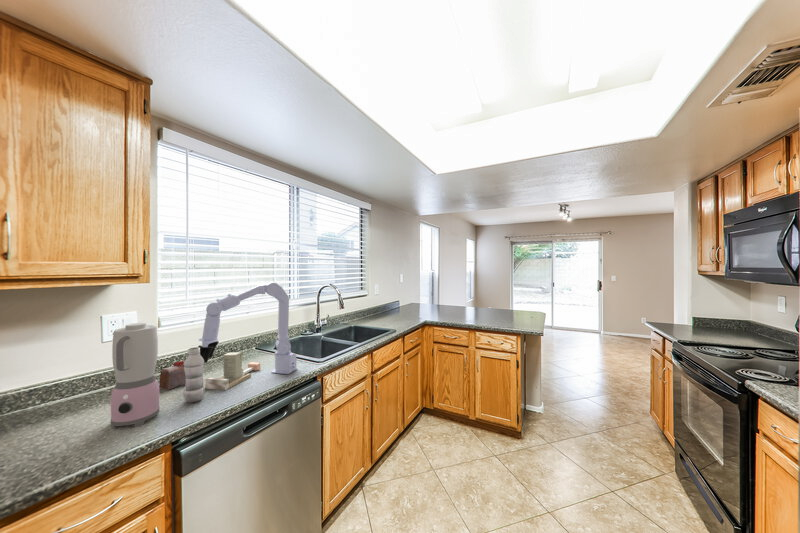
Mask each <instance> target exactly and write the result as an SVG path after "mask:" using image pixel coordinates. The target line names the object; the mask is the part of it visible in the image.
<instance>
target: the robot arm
mask: <svg viewBox="0 0 800 533" xmlns="http://www.w3.org/2000/svg"><path fill="white" fill-rule="evenodd" d="M266 294H267V295H268V296H271V297H273V298H275V299H276V300H277V301H278V311H277V312H278V313H277V315H278V316H277V320H278V322H277V336H276V337H277V339H276V340H275V343H274V346H275V348H276V351H275V352H274V369H273V370H272V371H271V374H285V375H289V374H291V373H293V372H294V371H296V370H297V369H298V367H297V355H296V353H295V352H292V351H291V348H292V344H291V343H290V335H289V320H290V319H289V317H290V316H289V315H290V314H289V311H290V297H289V295H288V293H287V292H286V290H285V289H284V288H283V286H281V285H280V284H278V283H277V282H274V281H269V282H267V283H263V284H259V285H256V286H255V287H252V288H250V289H248V290H246V291H243V292H241V293H239V294H236V293H232V294H231V293H228V294H227V296H225V297H222V298H220V299H219V298H217V299H216V300H215V301H212V302H210V303H209V304H208V305H207V306H206V309H205V311H206V314H205V318H204V324H203V332H202V337H201V338H200V337H199V338H198V342H199V341H201V345H198V346H197V347H199V348H200V353H199V354H200V355H201V356H202V358H203V359H204V364H207V363H208V360H209V359H211V358H212V357H213V355H214V352H215V350H216V347H217V346H218V344H219V341H218V336H219V332H220V324H221V314H222V312H226V311H228V310H230V309H233V308H236V307H237V306H239V305H240V303H241V301H245V300H246V299H249V298H251V297H254V296H257V295H266Z"/></svg>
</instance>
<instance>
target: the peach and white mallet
mask: <svg viewBox="0 0 800 533" xmlns="http://www.w3.org/2000/svg"><path fill="white" fill-rule="evenodd" d="M259 370H261V362H254V361H252V362H249V363H247V369H244V367H242V377H243V376H245V375H246V374H248V373H249V372H251V371H255V372H257V371H259Z"/></svg>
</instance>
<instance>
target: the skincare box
mask: <svg viewBox="0 0 800 533" xmlns="http://www.w3.org/2000/svg"><path fill="white" fill-rule="evenodd" d="M242 361H243V359H242V352H241V351H239V352H238V351H237V352H235V351H233V352H227V353H225V354H223V356H222V363H223V364H222V366H223V376H224V379H229V383H231V382H233V381H235V380H237V379H239V378H241V377H242V368H243V364H242V363H243V362H242Z"/></svg>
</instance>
